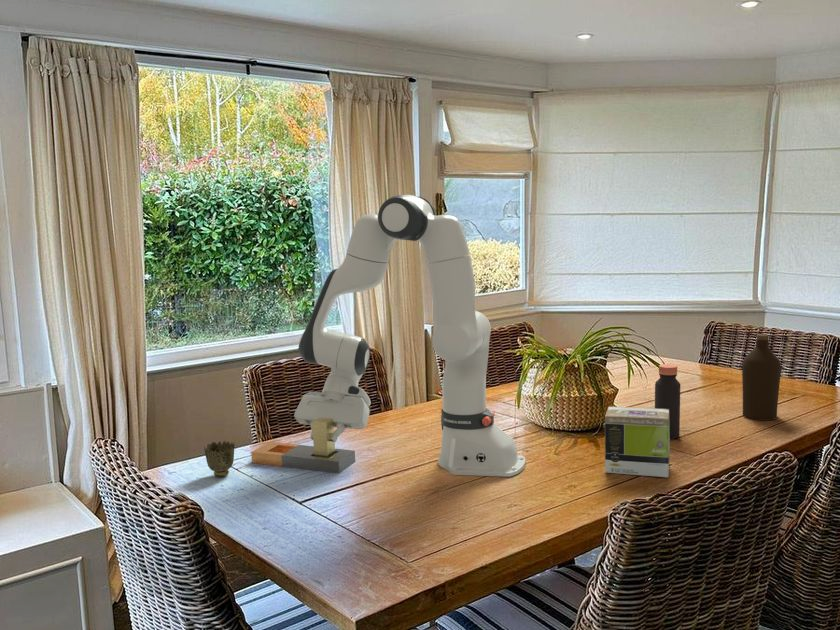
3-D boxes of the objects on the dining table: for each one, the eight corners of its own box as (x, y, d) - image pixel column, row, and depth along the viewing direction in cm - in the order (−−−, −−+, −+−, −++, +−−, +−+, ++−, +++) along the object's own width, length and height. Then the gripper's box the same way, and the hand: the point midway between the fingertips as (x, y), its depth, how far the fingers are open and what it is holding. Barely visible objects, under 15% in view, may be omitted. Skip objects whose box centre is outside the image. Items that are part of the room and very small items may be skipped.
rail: (355, 461, 199) (354, 450, 199) (339, 473, 191) (338, 461, 190) (270, 452, 209) (270, 441, 208) (251, 462, 200) (251, 452, 200)
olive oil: (755, 422, 222) (758, 338, 219) (733, 413, 233) (735, 333, 229) (786, 419, 225) (790, 336, 221) (763, 410, 235) (766, 330, 231)
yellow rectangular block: (335, 462, 198) (333, 418, 197) (328, 468, 195) (326, 422, 193) (322, 461, 200) (320, 417, 198) (314, 466, 196) (312, 421, 194)
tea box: (669, 465, 190) (670, 407, 188) (668, 479, 180) (669, 419, 178) (607, 460, 195) (608, 404, 192) (603, 473, 185) (604, 415, 183)
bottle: (667, 430, 218) (668, 362, 215) (684, 436, 212) (686, 366, 209) (648, 434, 215) (650, 365, 212) (666, 440, 209) (667, 369, 206)
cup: (228, 481, 187) (226, 450, 186) (200, 480, 189) (198, 449, 187) (241, 471, 194) (239, 441, 193) (214, 469, 196) (212, 440, 195)
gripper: (300, 385, 205) (283, 430, 197) (368, 390, 197) (353, 437, 190) (309, 397, 209) (292, 442, 202) (376, 402, 202) (362, 449, 194)
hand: (322, 439), depth 196 cm, fingers closed on yellow rectangular block, 4 cm apart
